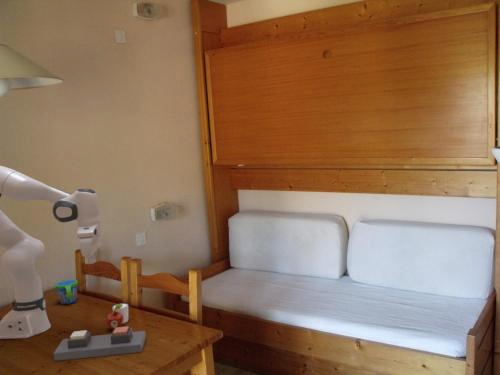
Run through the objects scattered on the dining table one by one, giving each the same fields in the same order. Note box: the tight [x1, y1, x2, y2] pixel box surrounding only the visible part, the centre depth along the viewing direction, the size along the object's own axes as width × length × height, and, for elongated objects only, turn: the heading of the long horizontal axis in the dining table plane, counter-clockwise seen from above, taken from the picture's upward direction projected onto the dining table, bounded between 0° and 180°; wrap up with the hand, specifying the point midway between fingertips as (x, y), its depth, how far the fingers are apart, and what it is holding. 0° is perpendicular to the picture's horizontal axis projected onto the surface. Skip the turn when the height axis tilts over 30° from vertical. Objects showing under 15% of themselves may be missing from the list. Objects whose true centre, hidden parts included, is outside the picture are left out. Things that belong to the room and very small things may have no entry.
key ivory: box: [69, 330, 88, 340], centre depth 192 cm, size 5×5×3 cm
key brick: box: [112, 326, 130, 336], centre depth 193 cm, size 5×5×3 cm
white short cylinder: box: [111, 303, 129, 324], centre depth 221 cm, size 7×7×7 cm
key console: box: [53, 327, 147, 362], centre depth 193 cm, size 32×13×6 cm, turn 95°
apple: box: [105, 303, 123, 330], centre depth 213 cm, size 8×7×10 cm
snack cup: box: [54, 279, 79, 305], centre depth 252 cm, size 16×10×10 cm
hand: (93, 262), depth 203 cm, fingers closed
